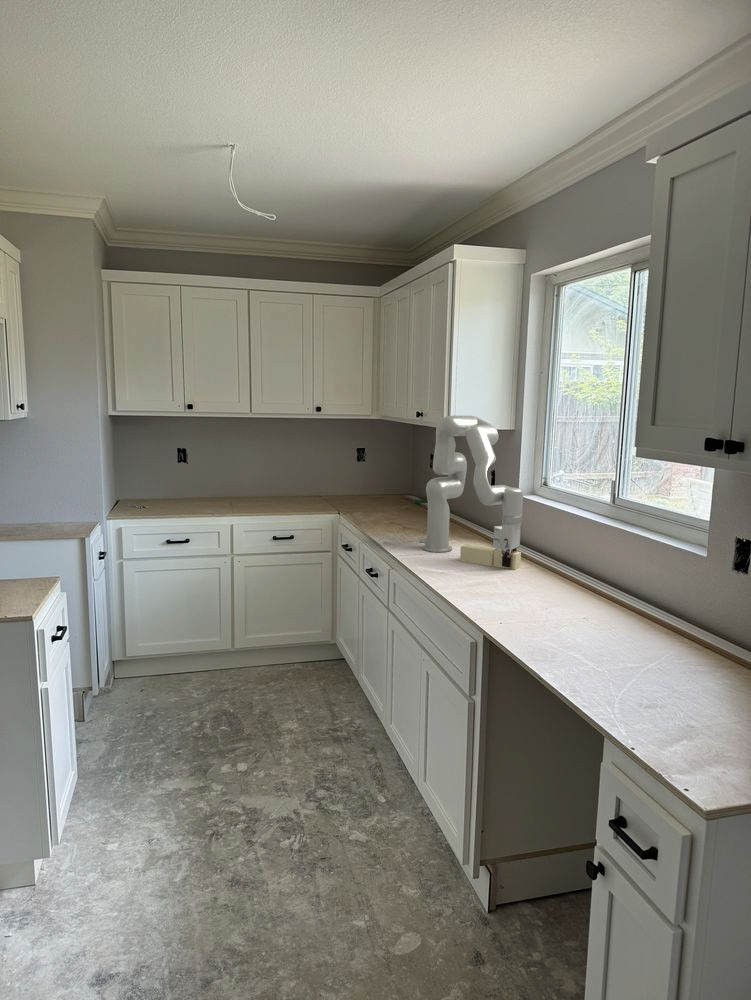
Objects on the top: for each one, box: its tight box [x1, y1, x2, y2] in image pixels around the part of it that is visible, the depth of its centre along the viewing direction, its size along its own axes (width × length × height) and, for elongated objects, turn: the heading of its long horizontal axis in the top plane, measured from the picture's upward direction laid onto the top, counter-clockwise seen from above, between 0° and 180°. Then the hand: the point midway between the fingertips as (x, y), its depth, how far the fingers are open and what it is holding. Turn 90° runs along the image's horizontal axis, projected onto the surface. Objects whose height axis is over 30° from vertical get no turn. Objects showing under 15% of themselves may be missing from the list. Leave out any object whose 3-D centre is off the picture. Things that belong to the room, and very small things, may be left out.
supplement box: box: [492, 525, 509, 549], centre depth 284 cm, size 7×7×13 cm
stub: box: [492, 549, 522, 571], centre depth 264 cm, size 9×6×6 cm, turn 57°
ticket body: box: [459, 543, 498, 567], centre depth 271 cm, size 14×6×6 cm, turn 57°
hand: (509, 564), depth 264 cm, fingers open, 6 cm apart
